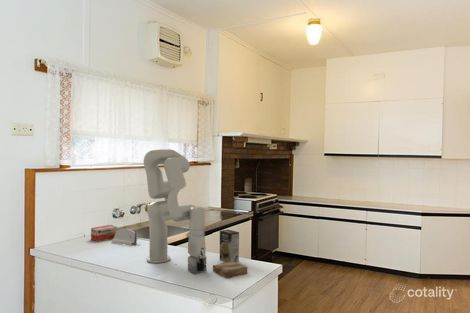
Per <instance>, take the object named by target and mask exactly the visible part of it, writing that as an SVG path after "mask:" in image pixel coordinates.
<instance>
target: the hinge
mask: <svg viewBox="0 0 470 313" xmlns="http://www.w3.org/2000/svg"><path fill="white" fill-rule="evenodd" d="M138 235H139V233H138V232H137V231H134V230H132V229H128V228H122V229H121V228H120V229H117V231H116V234H115V236H114V238H112V240H111V244H116V243H118V245H123V244H125V245H124V246H130V245H136V244H137V241H138Z"/></svg>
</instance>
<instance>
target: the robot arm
mask: <svg viewBox="0 0 470 313" xmlns="http://www.w3.org/2000/svg"><path fill="white" fill-rule="evenodd" d="M159 165H160V166H161V165H163V168H164V172H165V175H166V178H167V180H164V177H163V176H164V175H163V172H162V170H161V168H160V167H159ZM143 168H144V169H145V171H144V172H145V174H146V182H147V191H148V196H149V198H150V199H153V200H158V201H154V202H151V203H150V204H149V205H148V207H147V216H148V224H149V231H148V232H149V252H148V253H149V256H147V257H146V262H147V263H151V264H162V263H166V262H169V261H170V260H171V256H170V255H168V224H167V222H166V221H165V219H167V218H171V220H172V221H173V222H176V223H180V222H185V221H189V233H188V234H189V235H188V241H187V253H188V254H189V256H194V257H196V258H198V263H197V271H203V270H204V261H205V259H206V260H207V255H206V251H207V250H206V248H207V247H206V238H205V236H206V211H205V207H203V206H196V205H193V204H186V205H185V204H184V205H179V202H178V194H179V192H180V191H181V190H182V189H183V190H184V188H185V187H186V186H187V181H186V178H185V173H187V172H188V171H189V170H190V162H189V160H188V159H187V157H186V156H184V155H182V154H180V152H178V151H175V150H174V149H170V148H168V149H166V148H152V149H149V150H147V151H146V152H145V154H144V156H143ZM162 199H163V200H162ZM159 200H160V201H159ZM200 255H201V256H200ZM200 257H202V258H201V259H200Z"/></svg>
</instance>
